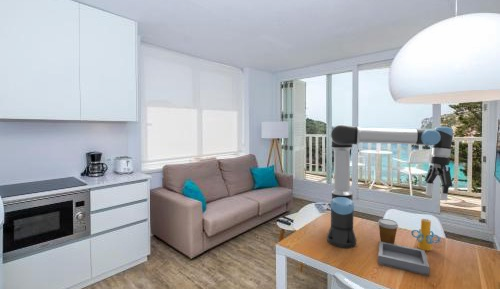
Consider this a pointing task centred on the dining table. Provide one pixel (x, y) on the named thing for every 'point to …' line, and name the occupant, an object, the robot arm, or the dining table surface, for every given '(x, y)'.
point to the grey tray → (403, 258)
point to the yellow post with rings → (425, 236)
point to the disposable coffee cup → (387, 230)
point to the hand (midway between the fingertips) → (435, 197)
